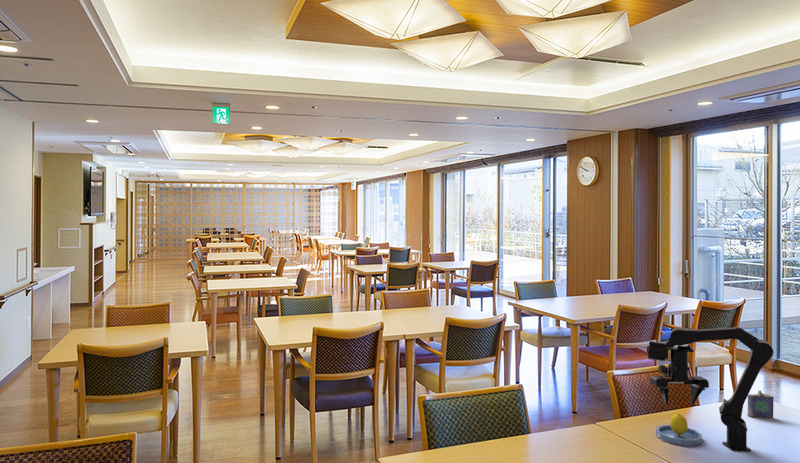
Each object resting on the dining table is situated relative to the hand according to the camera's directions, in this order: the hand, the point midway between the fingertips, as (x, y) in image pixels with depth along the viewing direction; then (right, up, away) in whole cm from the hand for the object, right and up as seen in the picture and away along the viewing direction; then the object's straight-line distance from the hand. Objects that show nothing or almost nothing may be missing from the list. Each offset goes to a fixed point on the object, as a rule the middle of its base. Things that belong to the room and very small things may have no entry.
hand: (679, 405), depth 193 cm
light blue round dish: (0, -12, 0) cm, 12 cm away
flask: (+45, -12, +22) cm, 51 cm away
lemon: (0, -11, 0) cm, 11 cm away
